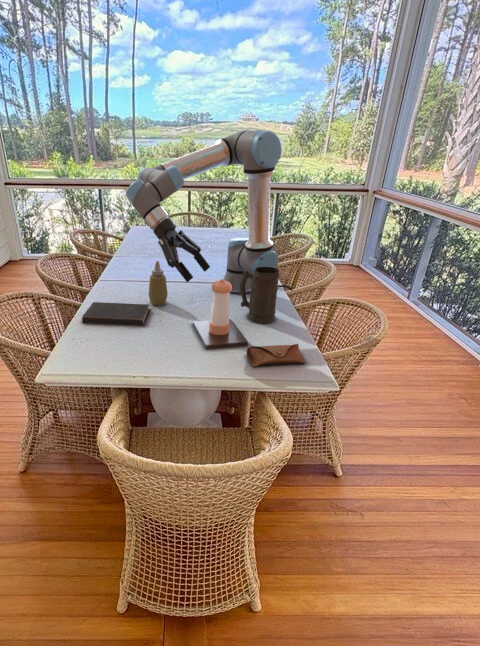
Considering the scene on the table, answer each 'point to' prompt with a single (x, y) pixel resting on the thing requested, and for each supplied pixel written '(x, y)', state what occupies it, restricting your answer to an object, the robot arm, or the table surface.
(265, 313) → the beer stein
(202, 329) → the serving board
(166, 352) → the table surface
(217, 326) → the pepper shaker
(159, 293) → the squeeze bottle
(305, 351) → the table surface
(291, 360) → the sunglasses case
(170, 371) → the table surface
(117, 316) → the hardcover book
